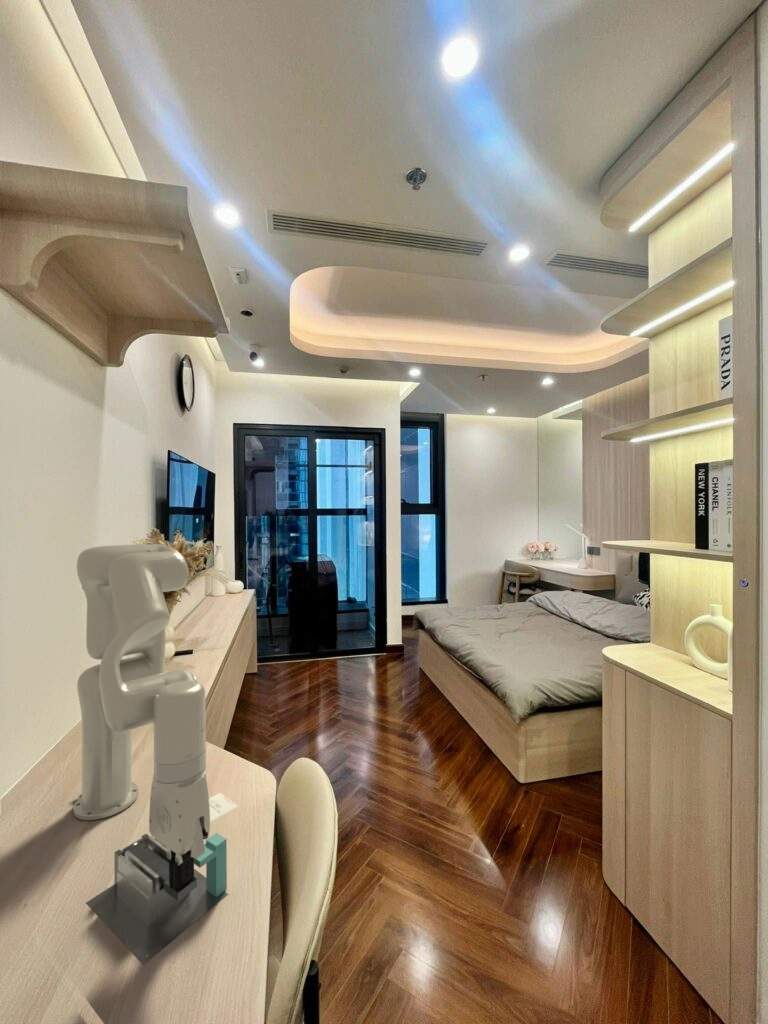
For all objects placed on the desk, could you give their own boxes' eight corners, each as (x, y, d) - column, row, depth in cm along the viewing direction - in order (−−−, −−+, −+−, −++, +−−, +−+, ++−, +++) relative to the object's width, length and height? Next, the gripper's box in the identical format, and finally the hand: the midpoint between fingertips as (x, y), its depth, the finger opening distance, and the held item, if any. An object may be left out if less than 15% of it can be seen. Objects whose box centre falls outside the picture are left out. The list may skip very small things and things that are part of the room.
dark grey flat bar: (121, 856, 77) (121, 848, 77) (139, 845, 79) (139, 837, 79) (177, 901, 67) (177, 892, 67) (197, 887, 69) (196, 878, 69)
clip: (190, 902, 72) (189, 850, 72) (216, 881, 76) (216, 832, 76) (200, 910, 70) (199, 857, 71) (226, 889, 75) (226, 839, 75)
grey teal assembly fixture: (86, 908, 72) (86, 863, 72) (168, 854, 84) (168, 815, 84) (143, 971, 62) (143, 918, 62) (228, 900, 73) (228, 855, 74)
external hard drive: (164, 827, 92) (220, 798, 101) (182, 846, 87) (239, 813, 96) (164, 819, 92) (220, 791, 101) (182, 837, 87) (238, 806, 96)
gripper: (132, 761, 71) (133, 878, 70) (185, 791, 62) (186, 924, 62) (176, 742, 77) (177, 849, 76) (230, 766, 68) (231, 886, 68)
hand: (181, 882), depth 69 cm, fingers closed
